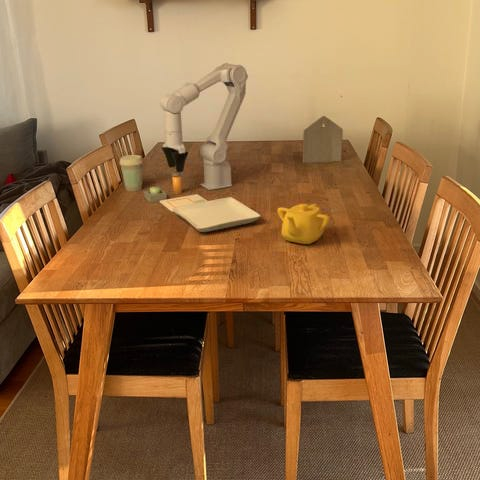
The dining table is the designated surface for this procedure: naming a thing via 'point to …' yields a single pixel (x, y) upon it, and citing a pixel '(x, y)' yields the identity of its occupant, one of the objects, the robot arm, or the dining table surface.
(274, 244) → the dining table surface
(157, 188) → the button
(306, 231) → the teapot
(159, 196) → the button housing
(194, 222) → the salad plate
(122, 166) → the coffee cup
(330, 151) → the grey pentagonal block
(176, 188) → the marker
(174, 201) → the sheet
